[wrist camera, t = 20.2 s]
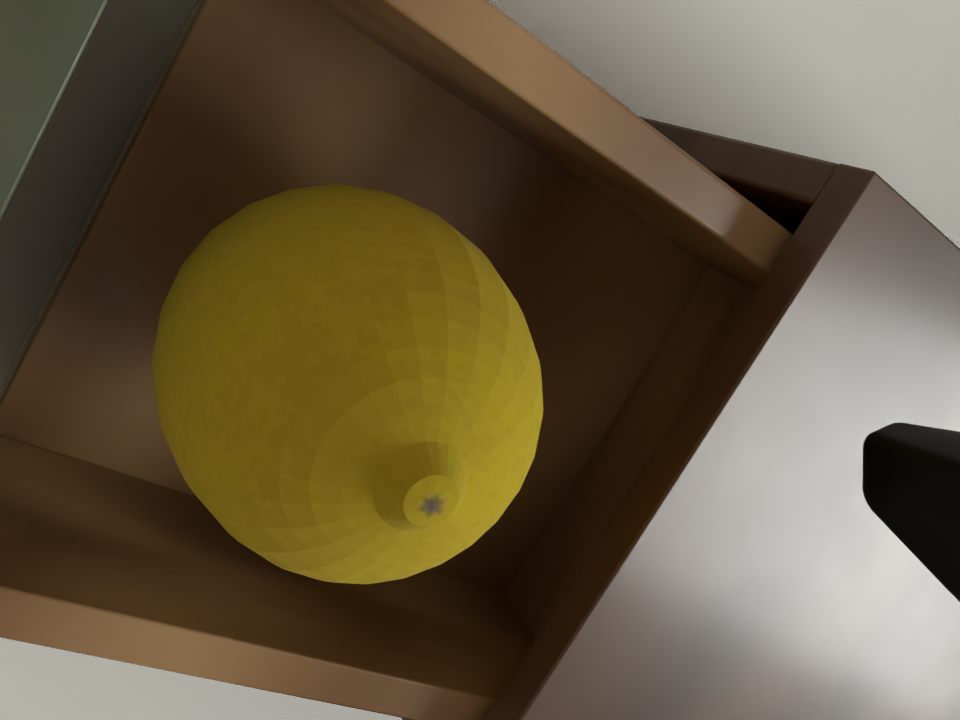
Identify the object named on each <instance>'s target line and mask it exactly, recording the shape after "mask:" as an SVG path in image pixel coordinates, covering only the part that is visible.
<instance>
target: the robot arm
mask: <svg viewBox="0 0 960 720" xmlns="http://www.w3.org/2000/svg"><path fill="white" fill-rule="evenodd" d="M862 489H863V494H864V498H865V500H866V502H867V504H868V506H869V507H870V509H871V510H872V511H873V512H874V513H875V514H876V515H877V517H878V518H879V519H880V520H881V521H882V522H883V523H884V524H885V525H886V526H887V527H888V528H889V529H890V530H891V531H892V532H893V533H894V534H895V535H896V536H897V537H898V538H899V540H900V541H901V542H902V543H903V544H904V545H905V546H906V547H907V548H908V549H909V550H910V551H911V552H912V553H913V554H914V555H915V556H916V557H917V558H918V559H919V560H920V562H921V563H922V564H923V565H924V566H925V567H926V568H927V569H928V570H929V571H930V572H931V573H932V574H933V575H934V576H935V577H936V578H937V579H938V580H939V581H940V582H941V583H942V585H943V586H944V587H945V588H946V589H947V590H948V591H949V592H950V593H951V594H952V595H953V596H954V597H955V598H956V599H957V600H958V601H959V602H960V432H958V431H952V430H946V429H939V428H933V427H927V426H921V425H914V424H908V423H901V422H898V423H892V424H889V425H887V426H885V427H883V428H881V429H879V430H876V431H874V432H872V433H870V434H869V435H868V436H867V437H866V439H865V441H864V443H863V481H862Z"/></svg>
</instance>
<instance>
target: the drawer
mask: <svg viewBox="0 0 960 720" xmlns="http://www.w3.org/2000/svg"><path fill="white" fill-rule="evenodd" d="M108 1H109V0H0V222H1V220H2V218H3V215H4V213H5V211H6V209H7V207H8V205H9V203H10V201H11V199H12V197H13V195H14V193H15V191H16V189H17V187H18V185H19V183H20V181H21V179H22V177H23V175H24V173H25V171H26V169H27V167H28V165H29V162H30V160H31V158H32V156H33V154H34V152H35V150H36V148H37V146H38V144H39V142H40V140H41V138H42V136H43V134H44V132H45V130H46V128H47V126H48V124H49V122H50V120H51V118H52V116H53V114H54V112H55V109H56V107H57V105H58V103H59V101H60V99H61V97H62V95H63V93H64V91H65V89H66V87H67V85H68V83H69V81H70V79H71V77H72V75H73V73H74V71H75V69H76V67H77V65H78V63H79V61H80V59H81V57H82V54H83V52H84V50H85V48H86V46H87V44H88V42H89V40H90V38H91V36H92V34H93V32H94V30H95V28H96V26H97V24H98V22H99V20H100V18H101V16H102V14H103V12H104V10H105V8H106V6H107V4H108ZM330 184H341V185H347V186H353V187H360V188H366V189H373V190H379V191H384V192H388V193H391V194H393V195H395V196H398V197H400V198H402V199H405V200H407V201H409V202H411V203H414V204H416V205H418V206H420V207H423V208H425V209H427V210H430V211H432V212H433V213H435V214H437V215H439V216H440V217H441V218H443V219H444V220H445V221H446V222H448V223H449V224H450V225H451V226H452V227H454V228H455V229H456V230H457V231H458V232H460V233H461V234H462V235H463V236H465V237H466V238H467V239H468V240H469V241H471V242H472V243H473V244H474V245H475V246H477V247H478V248H479V249H480V250H481V251H482V252H483V253H484V254H485V256H486V257H487V258H488V259H489V261H490V262H491V263H492V265H493V266H494V268H495V269H496V271H497V272H498V274H499V275H500V277H501V278H502V280H503V281H504V283H505V284H506V286H507V287H508V289H509V290H510V292H511V293H512V295H513V296H514V298H515V299H516V301H517V302H518V304H519V306H520V308H521V310H522V312H523V314H524V317H525V320H526V323H527V325H528V328H529V331H530V334H531V337H532V340H533V343H534V346H535V349H536V352H537V355H538V358H539V361H540V368H541V376H542V394H543V417H542V422H541V427H540V432H539V437H538V442H537V447H536V452H535V457H534V459H533V462H532V464H531V466H530V468H529V471H528V473H527V475H526V477H525V480H524V482H523V484H522V486H521V489H520V490H519V492H518V493H517V495H516V496H515V497H514V499H513V500H512V502H511V503H510V504H509V506H508V507H507V509H506V510H505V511H504V513H503V514H502V516H501V517H500V518H499V520H498V521H497V522H496V523H495V524H494V525H493V526H492V527H491V528H490V529H489V530H487V531H486V532H485V533H484V534H483V535H482V536H481V537H480V538H479V539H478V540H477V541H476V542H474V543H473V544H472V545H471V546H470V547H468V548H467V549H465V550H463V551H462V552H460V553H459V554H457V555H455V556H454V557H452V558H451V559H449V560H447V561H446V562H444V563H443V564H441V565H438V566H435V567H433V568H430V569H428V570H425V571H422V572H420V573H417V574H415V575H412V576H409V577H407V578H404V579H398V580H392V581H385V582H379V583H373V584H351V583H334V582H326V581H321V580H317V579H314V578H310V577H307V576H304V575H301V574H297V573H294V572H291V571H287V570H284V569H282V568H280V567H278V566H276V565H274V564H273V563H271V562H269V561H268V560H266V559H265V558H263V557H262V556H260V555H258V554H257V553H255V552H254V551H252V550H251V549H249V548H248V547H246V546H245V545H243V544H241V543H240V542H238V541H237V540H236V539H235V538H234V537H232V536H231V535H230V534H229V533H228V532H227V531H226V530H225V529H224V528H223V526H222V525H221V524H220V523H219V522H218V521H217V519H216V518H215V517H214V516H213V515H212V514H211V512H210V511H209V510H208V509H207V508H206V507H205V505H204V504H203V503H202V502H201V501H200V500H199V498H198V497H197V496H196V495H195V494H194V493H193V491H192V490H191V489H190V487H189V486H188V484H187V483H186V481H185V480H184V478H183V476H182V474H181V472H180V470H179V468H178V465H177V463H176V461H175V459H174V456H173V454H172V452H171V450H170V447H169V445H168V443H167V441H166V438H165V436H164V434H163V431H162V429H161V426H160V423H159V419H158V414H157V405H156V397H155V388H154V379H153V370H152V358H153V351H154V345H155V340H156V334H157V328H158V323H159V317H160V311H161V308H162V306H163V303H164V301H165V299H166V297H167V295H168V293H169V291H170V289H171V287H172V284H173V282H174V280H175V278H176V276H177V274H178V272H179V270H180V268H181V266H182V264H183V263H184V261H185V260H186V259H187V258H188V257H189V256H190V254H191V253H192V252H193V251H194V250H195V249H196V247H197V246H198V245H199V244H200V243H201V242H202V240H203V239H204V238H205V237H206V236H207V235H208V234H209V232H210V231H211V230H212V229H214V228H215V227H217V226H218V225H220V224H221V223H222V222H224V221H225V220H227V219H228V218H230V217H231V216H233V215H234V214H236V213H237V212H238V211H240V210H241V209H243V208H244V207H246V206H247V205H249V204H251V203H254V202H257V201H259V200H262V199H265V198H267V197H270V196H273V195H275V194H278V193H281V192H283V191H286V190H289V189H293V188H302V187H312V186H321V185H330ZM792 236H793V234H792V233H790V232H789V231H788V230H786V229H785V228H784V227H782V226H781V225H780V224H779V223H777V222H776V221H775V220H773V219H772V218H771V217H769V216H768V215H767V214H766V213H764V212H763V211H762V210H760V209H759V208H758V207H756V206H755V205H754V204H752V203H751V202H750V201H749V200H747V199H746V198H745V197H743V196H742V195H741V194H739V193H738V192H737V191H736V190H734V189H733V188H732V187H730V186H729V185H728V184H726V183H725V182H724V181H722V180H721V179H720V178H719V177H717V176H716V175H715V174H713V173H712V172H711V171H709V170H708V169H707V168H706V167H704V166H703V165H702V164H700V163H699V162H698V161H696V160H695V159H694V158H692V157H691V156H690V155H689V154H687V153H686V152H685V151H683V150H682V149H681V148H679V147H678V146H677V145H675V144H674V143H673V142H672V141H670V140H669V139H668V138H666V137H665V136H664V135H662V134H661V133H660V132H659V131H657V130H656V129H655V128H653V127H652V126H651V125H649V124H648V123H647V122H645V121H644V120H643V119H642V118H640V117H639V116H638V115H636V114H635V113H634V112H632V111H631V110H630V109H629V108H627V107H626V106H625V105H623V104H622V103H621V102H619V101H618V100H617V99H615V98H614V97H613V96H612V95H610V94H609V93H608V92H606V91H605V90H604V89H602V88H601V87H600V86H599V85H597V84H596V83H595V82H593V81H592V80H591V79H589V78H588V77H587V76H585V75H584V74H583V73H582V72H580V71H579V70H578V69H576V68H575V67H574V66H572V65H571V64H570V63H568V62H567V61H566V60H565V59H563V58H562V57H561V56H559V55H558V54H557V53H555V52H554V51H553V50H552V49H550V48H549V47H548V46H546V45H545V44H544V43H542V42H541V41H540V40H538V39H537V38H536V37H535V36H533V35H532V34H531V33H529V32H528V31H527V30H525V29H524V28H523V27H522V26H520V25H519V24H518V23H516V22H515V21H514V20H512V19H511V18H510V17H508V16H507V15H506V14H505V13H503V12H502V11H501V10H499V9H498V8H497V7H495V6H494V5H493V4H491V3H490V2H489V1H488V0H198V1H197V3H196V5H195V7H194V9H193V11H192V13H191V15H190V17H189V19H188V21H187V23H186V25H185V27H184V29H183V31H182V33H181V35H180V37H179V39H178V41H177V43H176V45H175V47H174V49H173V51H172V53H171V55H170V57H169V59H168V61H167V63H166V65H165V67H164V68H163V70H162V72H161V74H160V76H159V78H158V80H157V82H156V84H155V86H154V88H153V90H152V92H151V94H150V96H149V98H148V100H147V102H146V104H145V106H144V108H143V110H142V112H141V114H140V116H139V118H138V120H137V122H136V124H135V126H134V128H133V130H132V132H131V134H130V136H129V138H128V140H127V142H126V144H125V145H124V147H123V149H122V151H121V153H120V155H119V157H118V159H117V161H116V163H115V165H114V167H113V169H112V171H111V173H110V175H109V177H108V179H107V181H106V183H105V185H104V187H103V189H102V191H101V193H100V195H99V197H98V199H97V201H96V203H95V205H94V207H93V209H92V211H91V213H90V215H89V217H88V219H87V221H86V222H85V224H84V226H83V228H82V230H81V232H80V234H79V236H78V238H77V240H76V242H75V244H74V246H73V248H72V250H71V252H70V254H69V256H68V258H67V260H66V262H65V264H64V266H63V268H62V270H61V272H60V274H59V276H58V278H57V280H56V282H55V284H54V286H53V288H52V290H51V292H50V294H49V296H48V298H47V299H46V301H45V303H44V305H43V307H42V309H41V311H40V313H39V315H38V317H37V319H36V321H35V323H34V325H33V327H32V329H31V331H30V333H29V335H28V337H27V339H26V341H25V343H24V345H23V347H22V349H21V351H20V353H19V355H18V357H17V359H16V361H15V363H14V365H13V367H12V369H11V371H10V373H9V375H8V376H7V378H6V380H5V382H4V384H3V386H2V388H1V390H0V637H1V638H6V639H12V640H17V641H22V642H27V643H32V644H37V645H42V646H47V647H52V648H57V649H62V650H67V651H72V652H77V653H82V654H87V655H92V656H97V657H102V658H107V659H112V660H117V661H122V662H127V663H132V664H137V665H142V666H147V667H152V668H157V669H162V670H167V671H172V672H177V673H182V674H187V675H192V676H197V677H202V678H207V679H212V680H217V681H222V682H227V683H232V684H237V685H242V686H247V687H252V688H257V689H262V690H267V691H272V692H277V693H282V694H287V695H292V696H297V697H302V698H307V699H312V700H317V701H322V702H327V703H332V704H337V705H342V706H347V707H352V708H357V709H362V710H367V711H372V712H377V713H382V714H387V715H392V716H397V717H402V718H407V719H412V720H484V718H485V717H486V715H487V714H488V712H489V711H490V709H491V707H492V706H493V704H494V703H495V701H496V700H497V698H498V696H499V695H500V693H501V692H502V690H503V689H504V687H505V685H506V684H507V682H508V681H509V679H510V678H511V676H512V675H513V673H514V671H515V670H516V668H517V667H518V665H519V664H520V662H521V660H522V659H523V657H524V656H525V654H526V653H527V651H528V649H529V648H530V646H531V645H532V643H533V642H534V640H535V638H536V637H537V635H538V634H539V632H540V631H541V629H542V628H543V626H544V624H545V623H546V621H547V620H548V618H549V617H550V615H551V613H552V612H553V610H554V609H555V607H556V606H557V604H558V602H559V601H560V599H561V598H562V596H563V595H564V593H565V591H566V590H567V588H568V587H569V585H570V584H571V582H572V581H573V579H574V577H575V576H576V574H577V573H578V571H579V570H580V568H581V566H582V565H583V563H584V562H585V560H586V559H587V557H588V555H589V554H590V552H591V551H592V549H593V548H594V546H595V545H596V543H597V541H598V540H599V538H600V537H601V535H602V534H603V532H604V530H605V529H606V527H607V526H608V524H609V523H610V521H611V519H612V518H613V516H614V515H615V513H616V512H617V510H618V508H619V507H620V505H621V504H622V502H623V501H624V499H625V498H626V496H627V494H628V493H629V491H630V490H631V488H632V487H633V485H634V483H635V482H636V480H637V479H638V477H639V476H640V474H641V472H642V471H643V469H644V468H645V466H646V465H647V463H648V462H649V460H650V458H651V457H652V455H653V454H654V452H655V451H656V449H657V447H658V446H659V444H660V443H661V441H662V440H663V438H664V436H665V435H666V433H667V432H668V430H669V429H670V427H671V425H672V424H673V422H674V421H675V419H676V418H677V416H678V415H679V413H680V411H681V410H682V408H683V407H684V405H685V404H686V402H687V400H688V399H689V397H690V396H691V394H692V393H693V391H694V389H695V388H696V386H697V385H698V383H699V382H700V380H701V378H702V377H703V375H704V374H705V372H706V371H707V369H708V368H709V366H710V364H711V363H712V361H713V360H714V358H715V357H716V355H717V353H718V352H719V350H720V349H721V347H722V346H723V344H724V342H725V341H726V339H727V338H728V336H729V335H730V333H731V332H732V330H733V328H734V327H735V325H736V324H737V322H738V321H739V319H740V317H741V316H742V314H743V313H744V311H745V310H746V308H747V306H748V305H749V303H750V302H751V300H752V299H753V297H754V295H755V294H756V292H757V291H758V289H759V288H760V286H761V285H762V283H763V281H764V280H765V278H766V277H767V275H768V274H769V272H770V270H771V269H772V267H773V266H774V264H775V263H776V261H777V259H778V258H779V256H780V255H781V253H782V252H783V250H784V249H785V247H786V245H787V244H788V242H789V241H790V239H791V238H792Z"/></svg>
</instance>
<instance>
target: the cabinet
mask: <svg viewBox="0 0 960 720" xmlns="http://www.w3.org/2000/svg"><path fill="white" fill-rule="evenodd" d="M639 117H640V116H639ZM640 118H642V119H643V120H644V121H645V122H647V123H648V124H649V125H651V126H652V127H653V128H655V129H656V130H657V131H659V132H660V133H661V134H662V135H664V136H665V137H666V138H668V139H669V140H670V141H672V142H673V143H674V144H675V145H677V146H678V147H679V148H681V149H682V150H683V151H685V152H686V153H687V154H689V155H690V156H691V157H692V158H694V159H695V160H696V161H698V162H699V163H700V164H702V165H703V166H704V167H706V168H707V169H708V170H709V171H711V172H712V173H713V174H715V175H716V176H717V177H719V178H720V179H721V180H722V181H724V182H725V183H726V184H728V185H729V186H730V187H732V188H733V189H734V190H736V191H737V192H738V193H739V194H741V195H742V196H743V197H745V198H746V199H747V200H749V201H750V202H751V203H752V204H754V205H755V206H756V207H758V208H759V209H760V210H762V211H763V212H764V213H766V214H767V215H768V216H769V217H771V218H772V219H773V220H775V221H776V222H777V223H779V224H780V225H781V226H782V227H784V228H785V229H786V230H788V231H789V232H790V233H792V234H793V236H792V238H791V239H790V241H789V242H788V244H787V245H786V247H785V249H784V250H783V252H782V253H781V255H780V256H779V258H778V259H777V261H776V263H775V264H774V266H773V267H772V269H771V270H770V272H769V274H768V275H767V277H766V278H765V280H764V281H763V283H762V285H761V286H760V288H759V289H758V291H757V292H756V294H755V295H754V297H753V299H752V300H751V302H750V303H749V305H748V306H747V308H746V310H745V311H744V313H743V314H742V316H741V317H740V319H739V321H738V322H737V324H736V325H735V327H734V328H733V330H732V332H731V333H730V335H729V336H728V338H727V339H726V341H725V342H724V344H723V346H722V347H721V349H720V350H719V352H718V353H717V355H716V357H715V358H714V360H713V361H712V363H711V364H710V366H709V368H708V369H707V371H706V372H705V374H704V375H703V377H702V378H701V380H700V382H699V383H698V385H697V386H696V388H695V389H694V391H693V393H692V394H691V396H690V397H689V399H688V400H687V402H686V404H685V405H684V407H683V408H682V410H681V411H680V413H679V415H678V416H677V418H676V419H675V421H674V422H673V424H672V425H671V427H670V429H669V430H668V432H667V433H666V435H665V436H664V438H663V440H662V441H661V443H660V444H659V446H658V447H657V449H656V451H655V452H654V454H653V455H652V457H651V458H650V460H649V462H648V463H647V465H646V466H645V468H644V469H643V471H642V472H641V474H640V476H639V477H638V479H637V480H636V482H635V483H634V485H633V487H632V488H631V490H630V491H629V493H628V494H627V496H626V498H625V499H624V501H623V502H622V504H621V505H620V507H619V508H618V510H617V512H616V513H615V515H614V516H613V518H612V519H611V521H610V523H609V524H608V526H607V527H606V529H605V530H604V532H603V534H602V535H601V537H600V538H599V540H598V541H597V543H596V545H595V546H594V548H593V549H592V551H591V552H590V554H589V555H588V557H587V559H586V560H585V562H584V563H583V565H582V566H581V568H580V570H579V571H578V573H577V574H576V576H575V577H574V579H573V581H572V582H571V584H570V585H569V587H568V588H567V590H566V591H565V593H564V595H563V596H562V598H561V599H560V601H559V602H558V604H557V606H556V607H555V609H554V610H553V612H552V613H551V615H550V617H549V618H548V620H547V621H546V623H545V624H544V626H543V628H542V629H541V631H540V632H539V634H538V635H537V637H536V638H535V640H534V642H533V643H532V645H531V646H530V648H529V649H528V651H527V653H526V654H525V656H524V657H523V659H522V660H521V662H520V664H519V665H518V667H517V668H516V670H515V671H514V673H513V675H512V676H511V678H510V679H509V681H508V682H507V684H506V685H505V687H504V689H503V690H502V692H501V693H500V695H499V696H498V698H497V700H496V701H495V703H494V704H493V706H492V707H491V709H490V711H489V712H488V714H487V715H486V717H485V718H484V720H960V602H959V601H958V600H957V599H956V598H955V597H954V596H953V595H952V594H951V593H950V592H949V591H948V590H947V589H946V588H945V587H944V586H943V585H942V583H941V582H940V581H939V580H938V579H937V578H936V577H935V576H934V575H933V574H932V573H931V572H930V571H929V570H928V569H927V568H926V567H925V566H924V565H923V564H922V563H921V562H920V560H919V559H918V558H917V557H916V556H915V555H914V554H913V553H912V552H911V551H910V550H909V549H908V548H907V547H906V546H905V545H904V544H903V543H902V542H901V541H900V540H899V538H898V537H897V536H896V535H895V534H894V533H893V532H892V531H891V530H890V529H889V528H888V527H887V526H886V525H885V524H884V523H883V522H882V521H881V520H880V519H879V518H878V517H877V515H876V514H875V513H874V512H873V511H872V510H871V509H870V507H869V506H868V504H867V502H866V500H865V498H864V494H863V489H862V481H863V443H864V441H865V439H866V437H867V436H868V435H869V434H870V433H872V432H874V431H876V430H879V429H881V428H883V427H885V426H887V425H889V424H892V423H898V422H901V423H908V424H914V425H921V426H927V427H933V428H939V429H946V430H952V431H958V432H960V249H959V248H958V247H957V246H956V245H955V244H954V243H953V242H952V241H951V240H949V239H948V238H947V237H946V236H945V235H944V234H943V233H942V232H941V231H939V230H938V229H937V228H936V227H935V226H934V225H933V224H932V223H931V222H930V221H928V220H927V219H926V218H925V217H924V216H923V215H922V214H921V213H920V212H918V211H917V210H916V209H915V208H914V207H913V206H912V205H911V204H910V203H909V202H907V201H906V200H905V199H904V198H903V197H902V196H901V195H900V194H899V193H897V192H896V191H895V190H894V189H893V188H892V187H891V186H890V185H889V184H888V183H886V182H885V181H884V180H883V179H882V178H881V177H880V176H879V175H878V174H876V173H875V172H874V171H870V170H866V169H862V168H857V167H853V166H849V165H845V164H839V165H838V164H836V163H832V162H828V161H824V160H820V159H815V158H811V157H807V156H803V155H798V154H794V153H790V152H786V151H782V150H777V149H773V148H769V147H765V146H760V145H756V144H752V143H748V142H744V141H739V140H735V139H731V138H727V137H722V136H718V135H714V134H710V133H705V132H701V131H697V130H693V129H689V128H684V127H680V126H676V125H672V124H667V123H663V122H659V121H655V120H651V119H645V118H644V117H640ZM401 718H402V717H401ZM402 720H412V719H407V718H402Z"/></svg>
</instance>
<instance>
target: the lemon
mask: <svg viewBox="0 0 960 720" xmlns="http://www.w3.org/2000/svg"><path fill="white" fill-rule="evenodd" d="M152 370H153V379H154V388H155V397H156V405H157V414H158V419H159V423H160V426H161V429H162V431H163V434H164V436H165V438H166V441H167V443H168V445H169V447H170V450H171V452H172V454H173V456H174V459H175V461H176V463H177V465H178V468H179V470H180V472H181V474H182V476H183V478H184V480H185V481H186V483H187V484H188V486H189V487H190V489H191V490H192V491H193V493H194V494H195V495H196V496H197V497H198V498H199V500H200V501H201V502H202V503H203V504H204V505H205V507H206V508H207V509H208V510H209V511H210V512H211V514H212V515H213V516H214V517H215V518H216V519H217V521H218V522H219V523H220V524H221V525H222V526H223V528H224V529H225V530H226V531H227V532H228V533H229V534H230V535H231V536H232V537H234V538H235V539H236V540H237V541H238V542H240V543H241V544H243V545H245V546H246V547H248V548H249V549H251V550H252V551H254V552H255V553H257V554H258V555H260V556H262V557H263V558H265V559H266V560H268V561H269V562H271V563H273V564H274V565H276V566H278V567H280V568H282V569H284V570H287V571H291V572H294V573H297V574H301V575H304V576H307V577H310V578H314V579H317V580H321V581H326V582H334V583H351V584H373V583H379V582H385V581H392V580H398V579H404V578H407V577H409V576H412V575H415V574H417V573H420V572H422V571H425V570H428V569H430V568H433V567H435V566H438V565H441V564H443V563H444V562H446V561H447V560H449V559H451V558H452V557H454V556H455V555H457V554H459V553H460V552H462V551H463V550H465V549H467V548H468V547H470V546H471V545H472V544H473V543H474V542H476V541H477V540H478V539H479V538H480V537H481V536H482V535H483V534H484V533H485V532H486V531H487V530H489V529H490V528H491V527H492V526H493V525H494V524H495V523H496V522H497V521H498V520H499V518H500V517H501V516H502V514H503V513H504V511H505V510H506V509H507V507H508V506H509V504H510V503H511V502H512V500H513V499H514V497H515V496H516V495H517V493H518V492H519V490H520V489H521V486H522V484H523V482H524V480H525V477H526V475H527V473H528V471H529V468H530V466H531V464H532V462H533V459H534V457H535V452H536V447H537V442H538V437H539V432H540V427H541V422H542V417H543V394H542V376H541V368H540V361H539V358H538V355H537V352H536V349H535V346H534V343H533V340H532V337H531V334H530V331H529V328H528V325H527V323H526V320H525V317H524V314H523V312H522V310H521V308H520V306H519V304H518V302H517V301H516V299H515V298H514V296H513V295H512V293H511V292H510V290H509V289H508V287H507V286H506V284H505V283H504V281H503V280H502V278H501V277H500V275H499V274H498V272H497V271H496V269H495V268H494V266H493V265H492V263H491V262H490V261H489V259H488V258H487V257H486V256H485V254H484V253H483V252H482V251H481V250H480V249H479V248H478V247H477V246H475V245H474V244H473V243H472V242H471V241H469V240H468V239H467V238H466V237H465V236H463V235H462V234H461V233H460V232H458V231H457V230H456V229H455V228H454V227H452V226H451V225H450V224H449V223H448V222H446V221H445V220H444V219H443V218H441V217H440V216H439V215H437V214H435V213H433V212H432V211H430V210H427V209H425V208H423V207H420V206H418V205H416V204H414V203H411V202H409V201H407V200H405V199H402V198H400V197H398V196H395V195H393V194H391V193H388V192H384V191H379V190H373V189H366V188H360V187H353V186H347V185H341V184H330V185H321V186H312V187H302V188H293V189H289V190H286V191H283V192H281V193H278V194H275V195H273V196H270V197H267V198H265V199H262V200H259V201H257V202H254V203H251V204H249V205H247V206H246V207H244V208H243V209H241V210H240V211H238V212H237V213H236V214H234V215H233V216H231V217H230V218H228V219H227V220H225V221H224V222H222V223H221V224H220V225H218V226H217V227H215V228H214V229H212V230H211V231H210V232H209V234H208V235H207V236H206V237H205V238H204V239H203V240H202V242H201V243H200V244H199V245H198V246H197V247H196V249H195V250H194V251H193V252H192V253H191V254H190V256H189V257H188V258H187V259H186V260H185V261H184V263H183V264H182V266H181V268H180V270H179V272H178V274H177V276H176V278H175V280H174V282H173V284H172V287H171V289H170V291H169V293H168V295H167V297H166V299H165V301H164V303H163V306H162V308H161V311H160V317H159V323H158V328H157V334H156V340H155V345H154V351H153V358H152Z"/></svg>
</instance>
